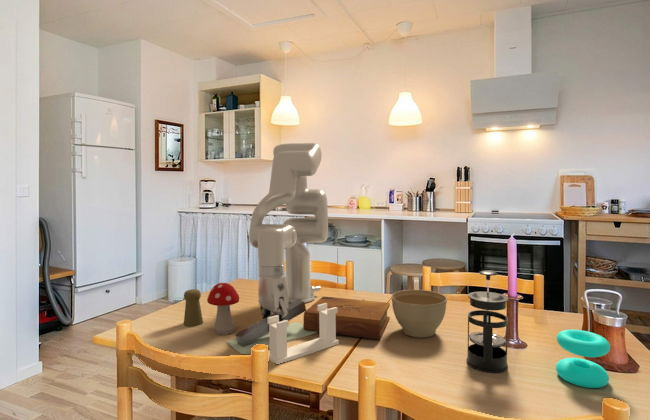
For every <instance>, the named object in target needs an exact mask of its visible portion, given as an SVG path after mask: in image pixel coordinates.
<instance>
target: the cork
mask: <svg viewBox="0 0 650 420" xmlns="http://www.w3.org/2000/svg"><path fill="white" fill-rule="evenodd" d="M201 296H202V294H201V291H200V290H199V289H195V288H194V289H188V290H185V292H184V294H183V299H184V300H185V308H184V318H183V326H184V327H188V328H191V327H194V328H195V327H198V326H199V327H200V326H201V325H203V324H204V320H203V314H202V308H201V301H200V298H201Z"/></svg>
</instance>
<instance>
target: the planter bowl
mask: <svg viewBox="0 0 650 420" xmlns="http://www.w3.org/2000/svg"><path fill="white" fill-rule="evenodd" d="M390 298H391V304H392V305H391V306H392V311H393V314H394V317H395V319H396V321H397V322H398V325H400V326H401V328H402V332H403V334H405V335H407V336H410V337H412V338H429V337H433V336H434V335H436V331H437V329H438V328H439V326H440V325H441V324H442V322H443V320H444V318H445V314H446V310H447V303H448V298H447V296H446V295H444V294H443V293H440V292H437V291H432V290H427V289H405V290H399V291H396V292H394V293H392V294H391V296H390Z"/></svg>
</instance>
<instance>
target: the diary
mask: <svg viewBox="0 0 650 420" xmlns="http://www.w3.org/2000/svg"><path fill="white" fill-rule="evenodd" d="M324 303H327V309H330V308H333V307H337V308H338V313H336V335H341V336H348V337H350V336H351V337H356V338H357V337H358V338H364V339H374V340H381V339H382V336H383V334H384V332H385V330H386V328H387V326H388V324H389V322H390V319H391V318H390V316H388V310H389V308H390V306H391V304H390V302H385V301H376V300H375V301H374V300H372V301H371V300H365V299H353V298H342V297H330V296H322V297H320V298H319V299H318V300H317V301H316V302H315V303H313V304H312V305H311V306H309V308H307V309H306V311H305V312H303V325H304V330H308V331H316V332H317V333H318V332H319V311H318V310H317V305H320V304H324ZM321 311H322V310H321Z"/></svg>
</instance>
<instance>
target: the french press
mask: <svg viewBox="0 0 650 420" xmlns="http://www.w3.org/2000/svg"><path fill="white" fill-rule="evenodd" d="M478 273H479V275H483V276H485V280H486V291H473V292H469V293H468V295H467V296H468V298H469V305H470V306H471V307H473V308H476V310H472V311H469V312H468V313H467V357H466V363H467V365H468V366H469V367H470V368H473V370H474V369H475V370H477V371H479V372H483V373H488V374H489V373H490V374H499V373H504V372H505V371H507V370H508V369H509V364H508V334H509V333H508V332H509V331H508V326H509V325H508V323H509V317H508V316H507V315H505V314H503V313H501V312H498V311H502V310H505V309H506V308H507V302H508V301H509V297H508V296H506V295H504V294H502V293H497V292H492V291H490V289H489V288H490V281H491V276H497V275H498V274H499V273H498V272H496V271H492V270H480V271H478ZM477 309H478V310H477ZM479 309H480V310H479ZM476 316H479V317H480V316H482V320H479V319H475V318H473V317H476ZM491 317H493V318H497V319H499V320H502V321H498V322H496V321H495V322H491V320H492V319H491ZM470 324H471V325H475V326H477V327H482V331H476V332H472V333H470ZM502 328H505V337H503V336H502V335H499V334H497V333H494V331H493V329H502ZM470 342H471V343H472V344H470ZM504 346H505V349H504V348H502V347H504Z"/></svg>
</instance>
